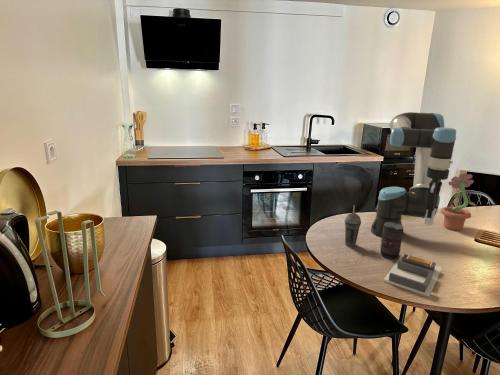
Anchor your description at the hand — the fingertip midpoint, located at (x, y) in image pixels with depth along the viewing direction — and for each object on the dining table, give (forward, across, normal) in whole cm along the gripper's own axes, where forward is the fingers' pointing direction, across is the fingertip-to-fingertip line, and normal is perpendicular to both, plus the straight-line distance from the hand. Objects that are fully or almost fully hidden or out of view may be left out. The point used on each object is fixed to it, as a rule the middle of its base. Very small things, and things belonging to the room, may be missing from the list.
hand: (428, 223), depth 142 cm
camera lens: (+18, -5, +12) cm, 22 cm away
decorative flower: (+18, +50, -5) cm, 53 cm away
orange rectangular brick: (+16, -7, 0) cm, 18 cm away
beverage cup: (+18, -4, +30) cm, 35 cm away
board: (+17, -14, 0) cm, 22 cm away
